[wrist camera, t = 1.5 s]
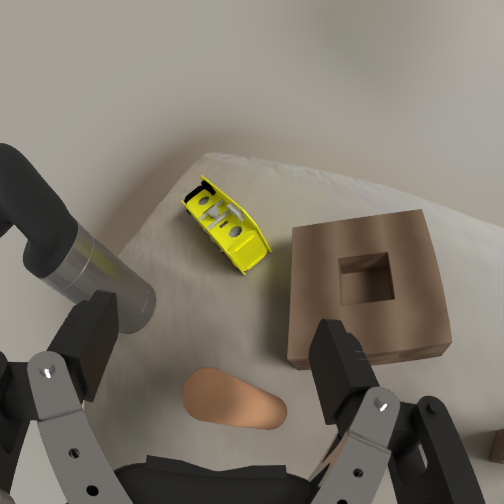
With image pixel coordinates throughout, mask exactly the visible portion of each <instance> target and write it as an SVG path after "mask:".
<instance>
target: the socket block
mask: <svg viewBox="0 0 504 504" xmlns="http://www.w3.org/2000/svg"><path fill="white" fill-rule="evenodd" d="M321 319H335V320H341V321H342V323H343V325H344V327H345V330H346V332H347V333H352V334H353V335H354V336H355V338H356V339H357V340H358V341H359V342H360V344H361V346H362V348H363V352H364V353H365V355H366V357H367V360H368V361H369V363H370V366H371V365H380V364H389V363H397V362H405V361H412V360H419V359H425V358H432V357H437V356H442V354H443V353H444V352H445V351H446V349H447V348H448V347H449V346H450V344H451V343H452V337H451V330H450V324H449V318H448V312H447V306H446V301H445V296H444V291H443V286H442V281H441V277H440V273H439V268H438V264H437V260H436V256H435V253H434V249H433V245H432V241H431V238H430V234H429V231H428V228H427V224H426V221H425V218H424V215H423V212H422V209H419V210H412V211H404V212H397V213H390V214H382V215H375V216H368V217H361V218H354V219H347V220H340V221H334V222H327V223H320V224H313V225H307V226H300V227H294V228H292V266H291V293H290V316H289V335H288V352H287V360H288V361H289V362H291V363H292V364H293V365H294V366H295V367H296V368H297V369H298V370H311V367H310V363H309V358H308V354H309V348H310V345H311V342H312V340H313V337H314V335H315V332H316V330H317V327H318V325H319V322H320V321H321Z"/></svg>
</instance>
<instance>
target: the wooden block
mask: <svg viewBox="0 0 504 504" xmlns="http://www.w3.org/2000/svg"><path fill="white" fill-rule="evenodd" d="M490 462H495V463H504V429H501V430H499V431H498V433H497V437H496V440H495V444H494V447H493V450H492V453H491V456H490Z"/></svg>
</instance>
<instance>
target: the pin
mask: <svg viewBox="0 0 504 504" xmlns="http://www.w3.org/2000/svg"><path fill="white" fill-rule="evenodd" d="M182 399H183V404H184V407H185V409H186V410H187V412H188V413H189V414H190V415H191V416H192V417H194V418H195V419H198V420H201V421H206V422H212V423H218V424H224V425H232V426H239V427H247V428H256V429H267V430H271V429H275V428H277V427H279V426H280V425H281V424H282V423H283V422H284V421H285V419H286V416H287V408H286V405H285V403H284V402H283V401H282V400H281V399H280V398H278V397H276V396H274V395H271V394H269V393H267V392H265V391H262V390H260V389H258V388H256V387H254V386H252V385H249V384H247V383H245V382H243V381H241V380H239V379H237V378H235V377H233V376H231V375H229V374H227V373H225V372H223V371H221V370H219V369H216V368H211V367H206V368H202V369H199V370H197V371H195V372H194V373H193V374H192V375H191V376H190V377H189V378H188V379H187V381H186V383H185V385H184V388H183V393H182Z"/></svg>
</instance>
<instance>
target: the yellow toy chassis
mask: <svg viewBox="0 0 504 504" xmlns="http://www.w3.org/2000/svg"><path fill="white" fill-rule="evenodd" d="M201 180H202V182H201V184H202V186H198V187H197V188H196V189H194V190H193V191H192V192H191V193H189V194H188V195H187V196H186V197H185V200H184V201H183V200H181V202H182V203H183V205H184V206H185V207H186V209H187V212H188V213H189V214H190V215H192V216H193V218H194V219H195V220H196V222H197V223H198V224H199V225H200V226H201V227H202V228H203V231H204V232H205V233H207V234H208V235H209V236H210V237H209V238H210V239H211V241H212V242H213V243H214V242H215V243H216V244H217V245H218V246H219V247H220V248H221V249H220V252H221V253H222V252H224V253H225V254H226V255H227V256H228V257H229V259H230V260H231V261H232V263H233V264H234V266H235V267H238V269H239V270H240V271H241V272H242V273H243V274H244V275H246V274H245V273H244V271H246V270H249V269H251V268H252V267H253V266H254V265H255V264H257V263H258V262H259V261H260V260H261V259H262V258H264V257H265V255H266V253H267V251H270V252H272V251H271V249H270V247H269V245H268V244H267V242H266V239H265V238H264V236H263V235H262V233H261V231H260V229H259V228H258V226H257V224H256V223H255V222H254V221H253V220H252V218H251V217H250V216H249V215H248V214H247V213H246V211H245V210H244V209H243V208H241V207H240V206H239V205H238V204H237V203H235V202H234V201H233V200H232V199H231V198H229V197H228V196H227V195H226V194H225V193H223V192H222V191H221V190H220V189H219V188H217V187H216V186H215V185H214V184H212V183H211V182H210V181H209V180H208V179H206V178H205V177H204V176H203V175H201ZM207 182H208V183H207ZM239 209H240V210H241V211H240V210H239ZM242 212H243V213H242ZM244 215H245V216H244ZM225 222H226V223H225Z"/></svg>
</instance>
